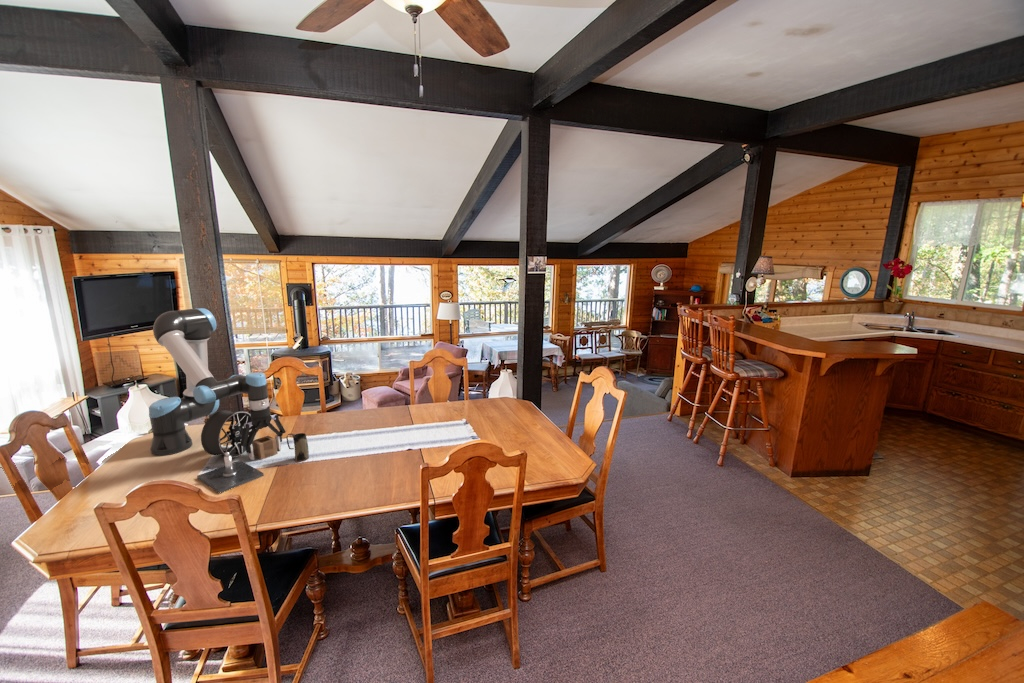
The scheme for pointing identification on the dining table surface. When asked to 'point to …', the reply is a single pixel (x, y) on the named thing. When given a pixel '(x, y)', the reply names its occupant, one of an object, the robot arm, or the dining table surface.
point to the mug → (300, 447)
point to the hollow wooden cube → (264, 447)
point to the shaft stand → (229, 475)
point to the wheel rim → (213, 430)
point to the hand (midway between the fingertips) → (265, 454)
